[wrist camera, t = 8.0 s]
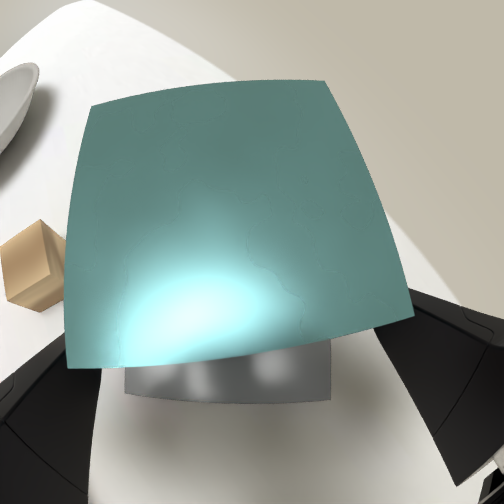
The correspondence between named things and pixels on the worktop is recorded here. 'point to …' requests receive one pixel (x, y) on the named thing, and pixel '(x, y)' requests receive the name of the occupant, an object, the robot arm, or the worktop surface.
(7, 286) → the block
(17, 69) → the dish
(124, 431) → the worktop surface
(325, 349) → the plate
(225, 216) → the tall teal box
